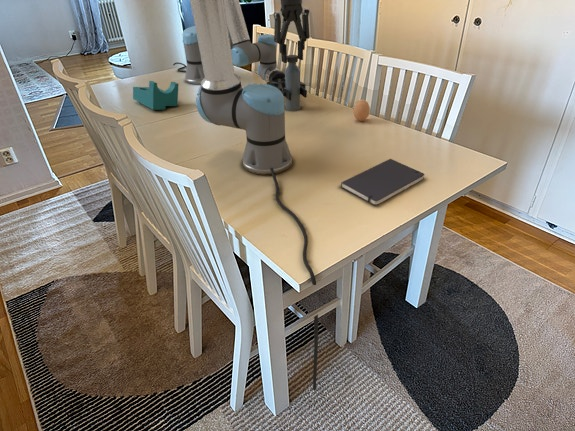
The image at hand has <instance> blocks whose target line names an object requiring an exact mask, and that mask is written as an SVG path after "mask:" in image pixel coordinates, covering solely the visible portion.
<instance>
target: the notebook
mask: <svg viewBox="0 0 575 431" xmlns="http://www.w3.org/2000/svg"><path fill="white" fill-rule="evenodd" d="M424 176H425V173H424V172H422V171H420V170H417V169H415V168H413V167H410V166H408V165H406V164H404V163H401V162H399V161H397V160H395V159H393V158H389V159H387V160H385V161H382V162H380V163H379V164H377V165H375V166H372V167H370V168H368V169H366V170H364V171H362V172H360V173H358V174H356V175H353V176H351V177H350V178H348V179H345V180H344V181H341V182H340V183H341V184H340V187H341V188H342V189H344V190H345V191H347V192H349V193H350V194H353V195H355V196H356V197H358V198H360V199H362V200H363V201H365V202H367V203H369V204H371V205H373V206H379V205H381V204H382V203H384V202H386V201H388V200H390V199H391V198H393V197H395V196H397V195H398V194H400V193H402V192H404V191H406V190H407V189H409V188H411V187H413V186H415V185H416V184H418V183H420V182H422V181H423V180H424Z"/></svg>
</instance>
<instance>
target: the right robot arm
mask: <svg viewBox="0 0 575 431" xmlns="http://www.w3.org/2000/svg"><path fill="white" fill-rule="evenodd" d="M189 2H190V7H191V12H192V18H193V21H194V22H193V23H194V26H195V29H196V34H197V39H198V44H199V50H200V55H201V60H202V65H203V71H204V76H205V77H204V79H203V80H202V81H201V84H200V87H199V88H198V89H197V92H196V97H195V106H196V109H197V112H198V114H199V116H200V117H201V118H202V120H204V121H205V122H207V123H210V124H212V125H216V126H223V127H229V128H234V129H239V130H244V131H245V136H246V137H245V138H246V143H245V146H244V151H243V155H242V166H243V168H244V170H246V171H247V172H249V173H252V174H254V175H255V174H256V175H262V176H269V175H271V176H272V179H273V182H274V186H275V200H276V202H277V204H278V206H279V207H280V208H281V209H282V210H284V211H285V212H286V213H287V214H289V215H290V216H291V217H292V218H293V219H294V220H295V222H296V223H297V224H298V226H299V228H300V230H301V232H302V235H303V247H302V248H303V249H302V261H303V264H304V266H305V268H306V270H307V271H308V273H309V276H310V279H311V284H312V285H313V286H316V285H317V280H316V275H315V273H314V271H313V269H312V267H311V265H310V264H309V261H308V256H307V252H308V251H307V250H308V242H309V238H308V233H307V231H306V229H305V226H304V225H303V223H302V222H301V220H300V219H299V218H298V217H297V215H296V214H295V213H294V212H293V211H292V210H290V209H289V208H288V207H287V206H285V204H283V203H282V201H281V200H280V186H279V182H278V180H277V177H276V175H277V174H280V173H283V172H286V171H287V170H289V169H290V167H291V166H292V163H293V157H292V153H291V150H290V148H289V145H288V143H287V140H286V111H285V110H286V103H285V96H283V94H282V92H281V91H280V90H279V89H278V88H276V87H274V86H271V85H267V83H249V84H247V85H245V86H244V87H242V80H241V77H240V76H239V75H238V74H236V73H235V67H234V64H233V60H232V53H231V46H230V39H229V32H228V25H227V18H226V11H225V4H224V0H189ZM302 4H303V0H280V5H281V7H280V10H279V11H275V12H273V19H274V29H273V30H274V32H273V34H274V35H273V36H274V42H276V44H278V47H279V49H278V52H279V54H281V55H280V57H281V63H283V64H287V63H288V62H287V56H288V53H287V48H288V47H287V46H288V45H287V44H286V40H287V35H288V31H289V28H290V24H291V22H293V23H294V25H295V29H296V32H297V35H298V40H297V56H298V60H300V61H304V51H305V49H306V47H305V46H306V42H307V40H308V39H310V23H309V15H310V9H309V8H303V6H302ZM313 327H314V328H313V329H314V330H313V331H314V334H313V337H314V338H313V368H312V370H313V373H312V390H313V391H317V378H318V377H317V376H318V374H317V372H318V352H319V351H318V350H319V314H318V313H317V314H316V315H315V316H313Z"/></svg>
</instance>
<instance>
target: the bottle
mask: <svg viewBox="0 0 575 431" xmlns="http://www.w3.org/2000/svg"><path fill="white" fill-rule="evenodd" d="M284 74H285V89H286V90H288V91H289V92H290V93H291V100H288V99H287V98H286V97H285V110H286V111H291V112H295V111H299V110H300V109H301V94H300V81H301V69H300V67H299V66H298V65H297V62H295V63H289V62H288V65H287V66H286V68H285V69H284Z"/></svg>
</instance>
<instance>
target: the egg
mask: <svg viewBox="0 0 575 431" xmlns="http://www.w3.org/2000/svg"><path fill="white" fill-rule="evenodd" d="M352 112H353V113H352V115H353V117H354V118H355V120H357V121H360V122H362V121H365V120H367V119H368V118H369V116H370V112H371V108H370V105H369V102H368V101H367V100H366V99H359V100H357V101H356V102H355V104H354V106H353V111H352Z"/></svg>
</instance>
